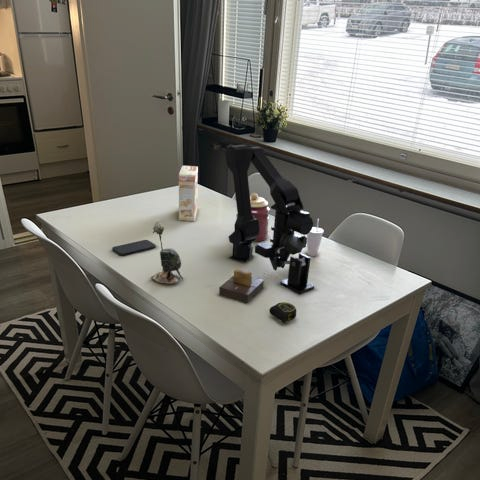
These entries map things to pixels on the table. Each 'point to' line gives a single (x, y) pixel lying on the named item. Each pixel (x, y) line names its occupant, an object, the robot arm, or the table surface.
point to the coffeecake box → (188, 193)
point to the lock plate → (241, 289)
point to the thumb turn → (242, 277)
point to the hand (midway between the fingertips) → (278, 268)
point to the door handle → (281, 262)
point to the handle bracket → (298, 275)
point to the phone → (133, 247)
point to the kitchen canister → (260, 215)
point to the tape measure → (283, 311)
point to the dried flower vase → (167, 262)
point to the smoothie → (314, 240)
